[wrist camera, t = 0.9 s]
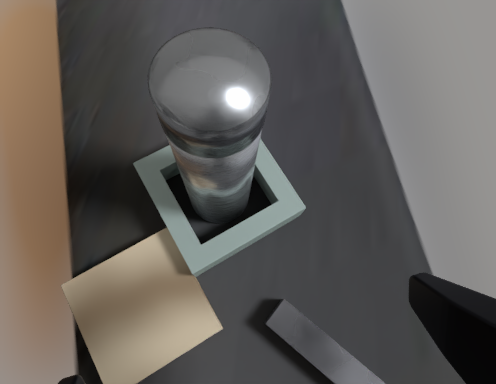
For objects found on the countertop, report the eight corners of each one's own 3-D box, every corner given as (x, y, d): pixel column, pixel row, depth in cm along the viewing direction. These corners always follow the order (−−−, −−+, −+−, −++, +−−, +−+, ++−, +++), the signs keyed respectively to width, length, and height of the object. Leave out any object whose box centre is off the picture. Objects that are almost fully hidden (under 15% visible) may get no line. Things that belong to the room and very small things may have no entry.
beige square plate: (222, 327, 21) (222, 328, 20) (115, 395, 20) (110, 400, 19) (170, 229, 23) (167, 226, 22) (68, 286, 22) (60, 285, 21)
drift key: (387, 388, 21) (396, 392, 20) (371, 415, 20) (379, 422, 19) (281, 299, 22) (284, 298, 21) (263, 322, 22) (265, 323, 20)
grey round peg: (260, 205, 24) (295, 98, 11) (207, 235, 23) (183, 154, 11) (230, 157, 25) (232, 11, 12) (178, 184, 24) (126, 56, 12)
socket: (299, 215, 24) (306, 207, 22) (195, 277, 22) (192, 274, 20) (240, 124, 26) (241, 109, 24) (140, 174, 24) (132, 163, 22)
